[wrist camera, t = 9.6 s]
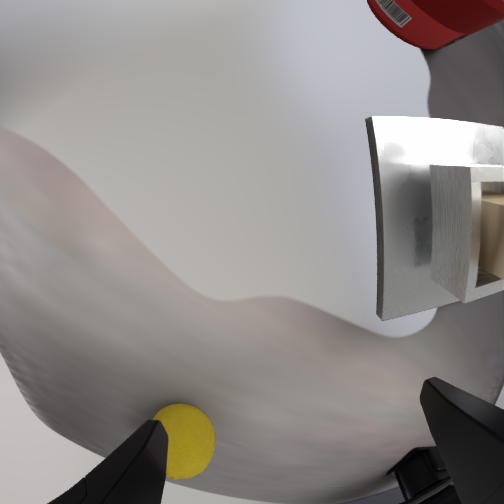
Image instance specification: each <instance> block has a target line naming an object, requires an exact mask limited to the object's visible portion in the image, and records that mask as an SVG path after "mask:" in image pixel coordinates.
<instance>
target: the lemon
mask: <svg viewBox="0 0 504 504" xmlns="http://www.w3.org/2000/svg"><path fill="white" fill-rule="evenodd" d="M153 419H156V420H160V421H161V422H162V424H163V426H164V428H165V430H166V432H167V434H168V437H169V442H168V455H167V470H166V476H167V477H168V478H170V479H173V480H175V479H186V478H190V477H194V476H196V475H198V474H199V473H201V472H202V471H203V470H204V469H205V468H206V467H207V465H208V464H209V462H210V460H211V458H212V456H213V453H214V448H215V441H216V438H215V431H214V428H213V425H212V422H211V421H210V419H209V418H208V416H207V415H206V414H205V413H204V412H202V411H201V410H200V409H198V408H196V407H194V406H192V405H188V404H172V405H169V406H166V407H164V408H163V409H161V410H160V411H159V412H157V414H156V415H155V416H154V418H153Z"/></svg>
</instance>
